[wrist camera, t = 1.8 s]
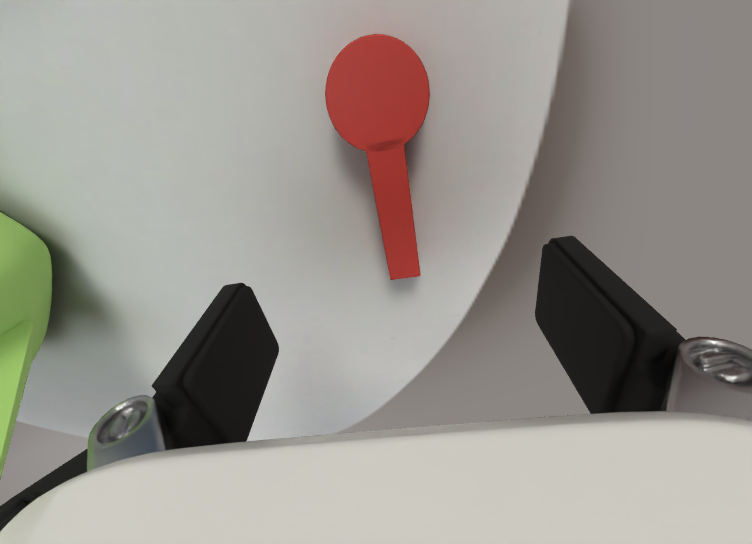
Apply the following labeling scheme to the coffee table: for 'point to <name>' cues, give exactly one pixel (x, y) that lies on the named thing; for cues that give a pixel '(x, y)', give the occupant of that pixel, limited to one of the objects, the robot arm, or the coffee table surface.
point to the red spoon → (383, 130)
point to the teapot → (20, 316)
